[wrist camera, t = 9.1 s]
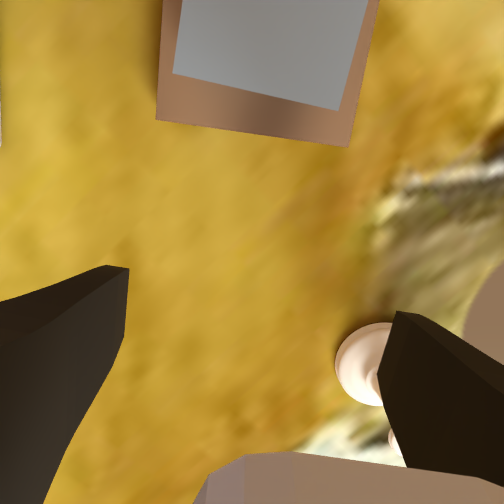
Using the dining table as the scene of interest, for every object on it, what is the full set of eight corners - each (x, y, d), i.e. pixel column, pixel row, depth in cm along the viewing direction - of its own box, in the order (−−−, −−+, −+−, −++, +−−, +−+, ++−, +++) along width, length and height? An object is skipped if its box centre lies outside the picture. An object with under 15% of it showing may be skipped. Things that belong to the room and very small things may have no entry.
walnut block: (167, 115, 21) (155, 119, 18) (181, -94, 18) (170, -119, 16) (337, 140, 21) (348, 147, 19) (378, -61, 18) (396, -82, 16)
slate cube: (194, 75, 18) (172, 73, 13) (217, -73, 16) (202, -136, 11) (317, 103, 18) (338, 111, 13) (353, -38, 16) (391, -86, 12)
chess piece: (404, 306, 23) (503, 455, 14) (439, 376, 25) (549, 553, 16) (319, 346, 24) (358, 511, 15) (357, 411, 26) (415, 599, 16)
